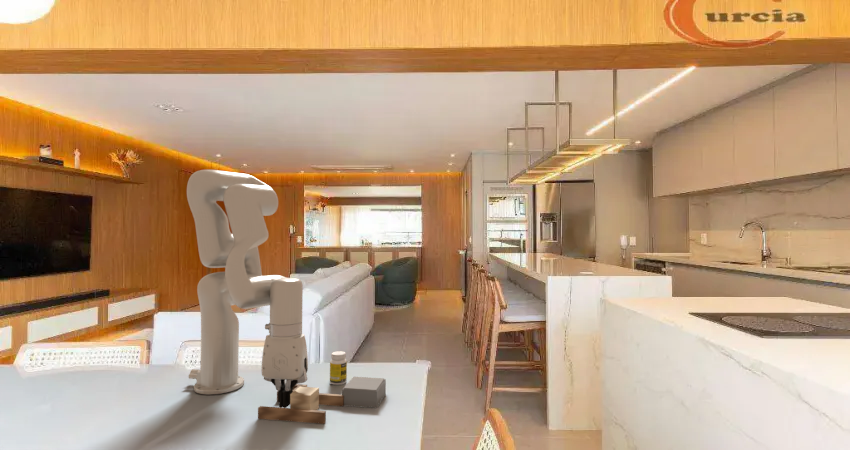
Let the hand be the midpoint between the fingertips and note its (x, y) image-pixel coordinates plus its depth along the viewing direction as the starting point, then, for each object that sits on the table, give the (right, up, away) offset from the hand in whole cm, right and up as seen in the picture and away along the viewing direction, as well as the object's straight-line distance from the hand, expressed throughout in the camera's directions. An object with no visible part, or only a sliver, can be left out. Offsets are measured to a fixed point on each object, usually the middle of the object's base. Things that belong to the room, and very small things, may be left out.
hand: (285, 405), depth 106 cm
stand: (+18, -1, +7) cm, 20 cm away
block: (+5, -1, -1) cm, 5 cm away
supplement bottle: (+9, -2, +19) cm, 21 cm away
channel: (+5, -1, +2) cm, 5 cm away
